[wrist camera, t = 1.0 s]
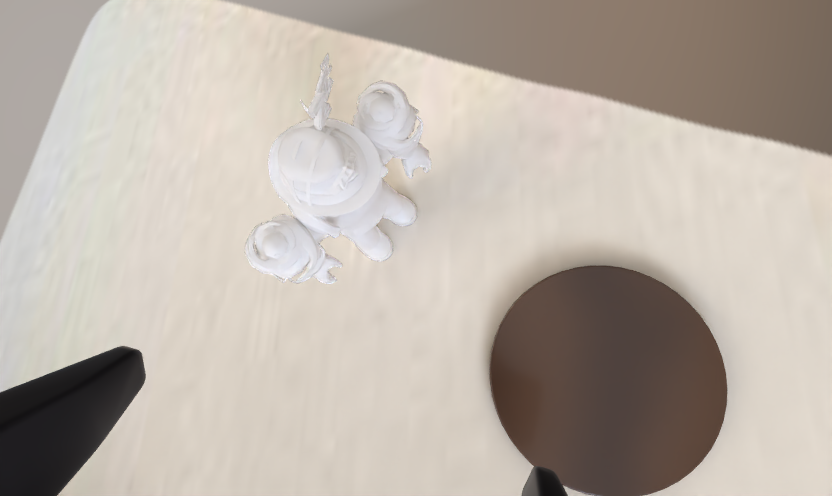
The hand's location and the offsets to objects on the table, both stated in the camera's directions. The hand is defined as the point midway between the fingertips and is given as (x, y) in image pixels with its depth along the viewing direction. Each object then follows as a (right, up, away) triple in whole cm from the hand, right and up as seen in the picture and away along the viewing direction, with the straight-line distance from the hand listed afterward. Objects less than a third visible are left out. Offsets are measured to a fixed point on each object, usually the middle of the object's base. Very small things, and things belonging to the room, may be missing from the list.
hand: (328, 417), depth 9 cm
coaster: (+11, -3, +12) cm, 17 cm away
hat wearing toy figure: (0, +5, +15) cm, 16 cm away
